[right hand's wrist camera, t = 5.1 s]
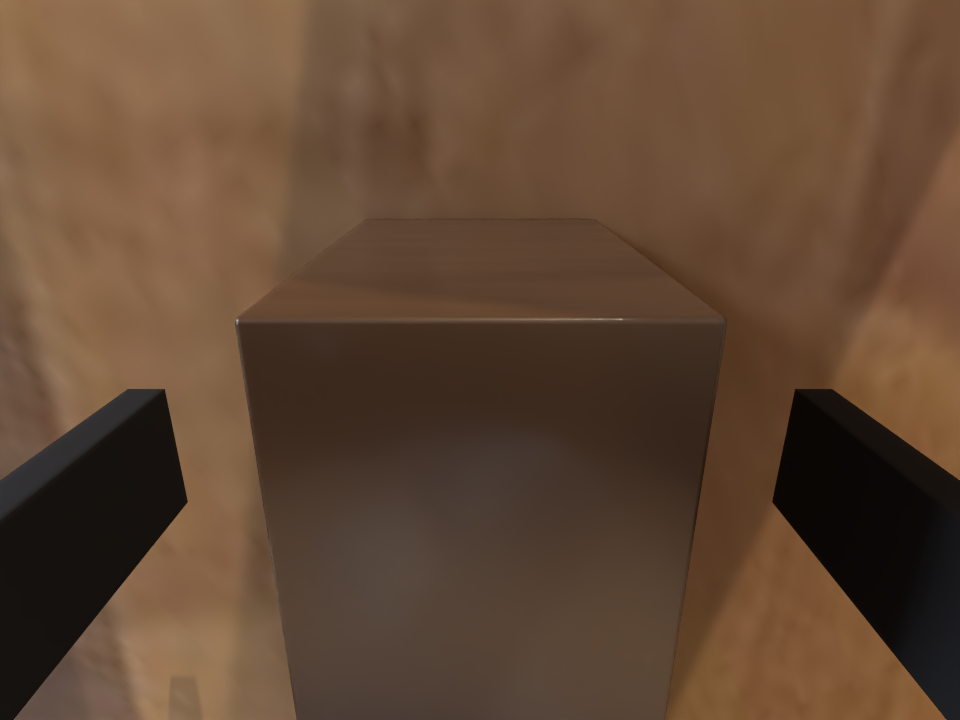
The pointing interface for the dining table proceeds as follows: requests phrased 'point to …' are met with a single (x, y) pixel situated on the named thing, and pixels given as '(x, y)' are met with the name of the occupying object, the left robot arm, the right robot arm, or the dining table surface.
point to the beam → (480, 469)
